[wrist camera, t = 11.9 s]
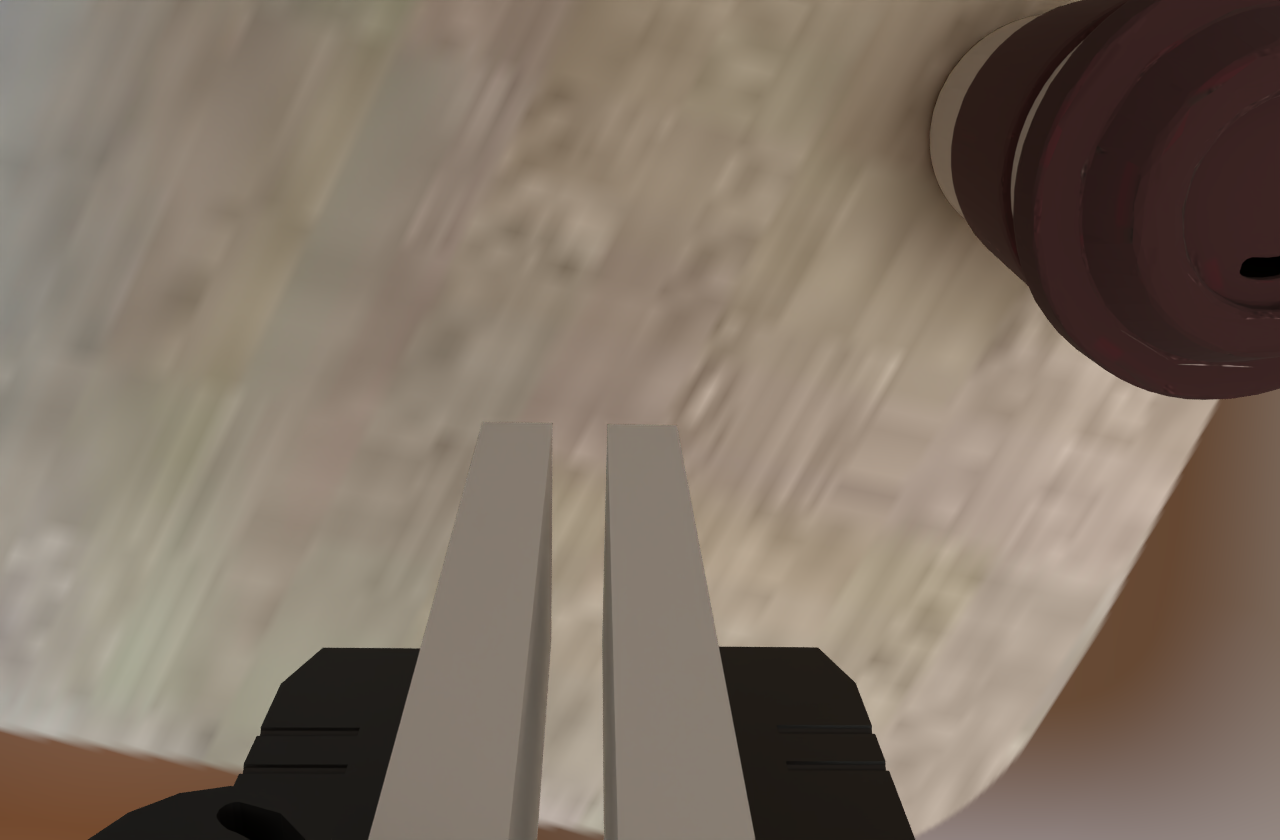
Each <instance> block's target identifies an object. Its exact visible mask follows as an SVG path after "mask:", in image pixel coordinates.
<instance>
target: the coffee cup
mask: <svg viewBox="0 0 1280 840" xmlns="http://www.w3.org/2000/svg"><path fill="white" fill-rule="evenodd" d="M930 155H931V161H932V166H933V169H934V173H935V176H936V179H937V181H938V184H939V186H940V188H941V190H942V192H943V194H944V195H945V197H946V198H947V200H948V201H949V203H950V204H951V205H952V207H953V208H954V209H955V210H956V211H957V212H958V213H959V214H960V215H961V216H962V217H963V218H964V219H965V220H966V221H967V222H968V224H969V226H970V227H971V229H972V230H973V232H974V234H975V235H976V236H977V237H978V238H979V240H980V241H981V242H982V243H983V244H984V245H985V246H986V247H987V248H988V249H989V250H990V251H991V252H992V253H993V254H994V255H995V256H996V257H997V258H999V259H1000V260H1001V261H1002V262H1003V263H1004V264H1005V265H1006V266H1007V267H1008V268H1009V269H1011V270H1012V271H1013V272H1014V273H1015V274H1016V275H1017V276H1018V277H1019V278H1020V279H1021V280H1023V281H1024V282H1025V283H1026V284H1027V285H1028V286H1029V288H1030V291H1031V293H1032V295H1033V297H1034V299H1035V301H1036V303H1037V304H1038V306H1039V307H1040V309H1041V310H1042V312H1043V313H1044V315H1045V316H1046V318H1047V319H1048V320H1049V322H1050V323H1051V324H1052V325H1053V327H1054V328H1055V329H1056V330H1057V332H1058V333H1059V334H1060V335H1062V336H1063V337H1064V338H1065V339H1066V340H1067V341H1068V342H1069V343H1070V344H1071V345H1072V346H1074V347H1075V348H1076V349H1077V350H1078V351H1080V352H1081V353H1083V354H1084V355H1085V356H1087V357H1088V358H1089V359H1091V360H1092V361H1094V362H1095V363H1096V364H1098V365H1099V366H1101V367H1102V368H1103V369H1105V370H1106V371H1108V372H1110V373H1111V374H1113V375H1115V376H1116V377H1118V378H1120V379H1121V380H1124V381H1126V382H1128V383H1130V384H1132V385H1134V386H1137V387H1139V388H1142V389H1145V390H1147V391H1150V392H1154V393H1158V394H1162V395H1166V396H1170V397H1177V398H1183V399H1200V400H1207V399H1231V398H1238V397H1244V396H1251V395H1257V394H1261V393H1265V392H1269V391H1272V390H1276V389H1279V388H1280V0H1082V1H1078V2H1074V3H1071V4H1067V5H1064V6H1061V7H1058V8H1055V9H1053V10H1051V11H1049V12H1047V13H1045V14H1042V15H1036V16H1031V17H1027V18H1023V19H1020V20H1017V21H1014V22H1011V23H1009V24H1007V25H1005V26H1003V27H1001V28H999V29H997V30H995V31H994V32H992V33H990V34H989V35H987V36H986V37H985V38H983V39H982V40H981V41H979V42H978V43H977V44H976V45H975V46H974V47H972V48H971V49H970V50H969V51H968V52H967V53H966V54H965V55H964V56H963V57H962V59H961V60H960V61H959V63H958V64H957V65H956V67H955V68H954V69H953V70H952V72H951V73H950V74H949V76H948V78H947V80H946V82H945V84H944V86H943V88H942V89H941V91H940V94H939V97H938V99H937V102H936V105H935V108H934V111H933V116H932V122H931V128H930Z"/></svg>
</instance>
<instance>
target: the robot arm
mask: <svg viewBox="0 0 1280 840" xmlns="http://www.w3.org/2000/svg"><path fill="white" fill-rule="evenodd" d="M551 594H552V423H522V422H482V425H481V429H480V432H479V436H478V440H477V443H476V447H475V451H474V454H473V458H472V461H471V465H470V469H469V472H468V476H467V480H466V483H465V487H464V491H463V494H462V498H461V502H460V505H459V509H458V513H457V516H456V520H455V524H454V527H453V531H452V535H451V538H450V542H449V546H448V549H447V553H446V557H445V560H444V564H443V568H442V571H441V575H440V579H439V582H438V586H437V590H436V593H435V597H434V601H433V604H432V608H431V612H430V615H429V619H428V622H427V626H426V630H425V633H424V637H423V641H422V644H421V648H420V649H411V648H322V649H321V650H320V651H319V652H318V653H316V654H315V655H314V656H313V657H312V658H311V659H309V660H308V661H307V662H306V663H305V664H304V665H302V666H301V667H300V668H299V669H298V670H297V671H295V672H294V673H293V674H292V675H291V676H290V677H288V678H287V679H286V680H285V681H284V682H283V683H281V685H280V687H279V689H278V691H277V694H276V696H275V698H274V700H273V702H272V704H271V706H270V709H269V711H268V713H267V715H266V717H265V719H264V722H263V724H262V726H261V734H260V736H257V737H256V739H255V741H254V743H253V745H252V747H251V750H250V752H249V754H248V756H247V758H246V760H245V763H244V770H243V774H239V775H238V778H237V780H236V782H235V784H234V786H228V787H220V788H214V789H207V790H200V791H192V792H186V793H179V794H176V795H174V796H171V797H168V798H166V799H163V800H161V801H158V802H155V803H153V804H150V805H148V806H145V807H142V808H140V809H137V810H134V811H132V812H129V813H127V814H126V815H124V816H123V817H121V818H120V819H118V820H117V821H115V822H114V823H112V824H111V825H109V826H108V827H106V828H105V829H103V830H102V831H100V832H99V833H97V834H96V835H94V836H93V837H91V838H90V839H88V840H537V832H538V818H539V804H540V790H541V776H542V762H543V748H544V734H545V720H546V706H547V692H548V678H549V664H550V650H551ZM602 668H603V782H604V840H915V838H914V835H913V833H912V830H911V827H910V825H909V822H908V819H907V817H906V814H905V812H904V809H903V806H902V804H901V801H900V798H899V796H898V793H897V791H896V788H895V785H894V783H893V780H892V777H891V775H890V772H889V771H886V768H885V759H884V756H883V754H882V751H881V749H880V746H879V743H878V741H877V738H876V735H875V734H872V725H871V722H870V720H869V717H868V714H867V712H866V709H865V707H864V704H863V701H862V699H861V696H860V693H859V691H858V688H857V685H856V683H855V682H854V681H853V680H852V679H851V678H850V677H849V676H847V675H846V674H845V673H844V672H843V671H842V670H841V669H840V668H839V667H838V666H837V665H836V664H835V663H834V662H833V661H832V660H831V659H830V658H828V657H827V656H826V655H825V654H824V653H823V652H822V651H821V650H820V649H819V648H810V647H719V645H718V640H717V635H716V630H715V624H714V619H713V614H712V608H711V603H710V598H709V593H708V587H707V582H706V577H705V572H704V566H703V561H702V556H701V551H700V545H699V540H698V535H697V529H696V524H695V519H694V514H693V508H692V503H691V498H690V493H689V487H688V482H687V477H686V471H685V466H684V461H683V456H682V450H681V445H680V440H679V435H678V429H677V425H635V424H607V464H606V506H605V547H604V588H603V630H602Z"/></svg>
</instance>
